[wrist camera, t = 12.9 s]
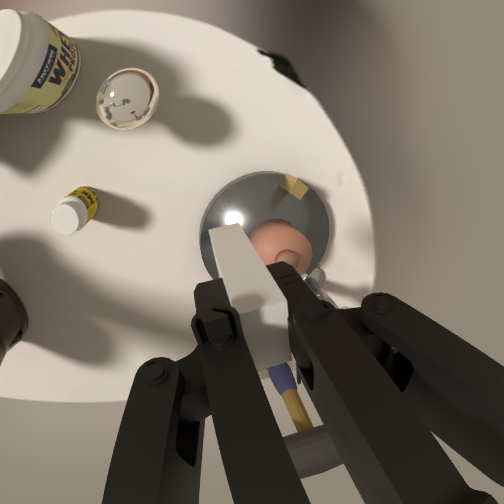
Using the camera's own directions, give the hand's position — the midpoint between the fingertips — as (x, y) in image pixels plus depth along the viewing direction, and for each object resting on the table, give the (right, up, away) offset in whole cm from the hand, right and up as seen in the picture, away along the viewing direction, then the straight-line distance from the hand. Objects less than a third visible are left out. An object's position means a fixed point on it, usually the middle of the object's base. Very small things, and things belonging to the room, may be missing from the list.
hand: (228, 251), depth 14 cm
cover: (+4, +1, +27) cm, 28 cm away
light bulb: (-14, +20, +17) cm, 29 cm away
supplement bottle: (-23, +7, +20) cm, 31 cm away
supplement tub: (-28, +25, +10) cm, 39 cm away
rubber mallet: (+3, -16, +39) cm, 43 cm away
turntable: (+3, +3, +30) cm, 30 cm away
